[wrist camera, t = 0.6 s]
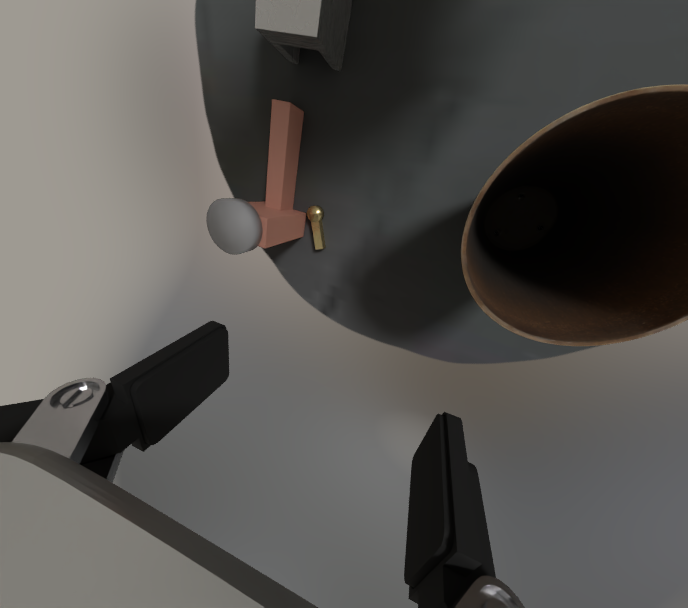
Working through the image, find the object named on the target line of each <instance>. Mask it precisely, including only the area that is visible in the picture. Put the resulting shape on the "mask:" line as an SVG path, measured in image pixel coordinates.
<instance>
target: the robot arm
mask: <svg viewBox="0 0 688 608" xmlns="http://www.w3.org/2000/svg"><path fill="white" fill-rule="evenodd" d="M228 350H229V349H228V331H227V330H226V327H225V325H222V324H220V323H217V322H215V321H210V322H208V323H206V324H205V325H203V326H201V327H199V328H198V329H196V330H194V331H192V332H191V333H189V334H187V335H185V336H184V337H182V338H180V339H179V340H177V341H175V342H173V343H171V344H170V345H168V346H166V347H164V348H163V349H161V350H159V351H157V352H156V353H154V354H152V355H151V356H149V357H147V358H145V359H143V360H142V361H140V362H138V363H137V364H135V365H133V366H131V367H129V368H128V369H126V370H124V371H122V372H121V373H119V374H117V375H115V376H114V377H112V378H110V381H111V383H109V384H107V385H106V384H105V382H104V381H102V380H101V379H96V378H84V379H79V380H75V381H72V382H69V383H66V384H64V385H62V386H60V387H58V388H57V389H55V390H53V391H52V392H51V393H49V394H48V395H47V397H45V399H41V400H35V401H29V402H23V403H17V404H11V405H5V406H0V608H318V607H316V606H315V605H313V604H312V603H310V602H308V601H306V600H305V599H303V598H302V597H300V596H298V595H297V594H295V593H294V592H292V591H290V590H289V589H287V588H285V587H284V586H282V585H280V584H279V583H277V582H275V581H274V580H272V579H271V578H269V577H267V576H266V575H264V574H262V573H260V572H259V571H258V570H256V569H254V568H253V567H251V566H249V565H248V564H246V563H244V562H243V561H241V560H240V559H238V558H236V557H234V556H233V555H231V554H230V553H228V552H226V551H225V550H223V549H221V548H220V547H218V546H216V545H215V544H213V543H211V542H210V541H208V540H206V539H205V538H203V537H202V536H200V535H198V534H197V533H195V532H193V531H192V530H190V529H188V528H186V527H185V526H183V525H182V524H180V523H178V522H176V521H175V520H173V519H172V518H170V517H168V516H167V515H165V514H163V513H162V512H160V511H158V510H157V509H155V508H153V507H152V506H150V505H148V504H147V503H145V502H143V501H142V500H140V499H138V498H137V497H135V496H133V495H132V494H130V493H128V492H127V491H125V490H123V489H122V488H120V487H118V486H116V485H115V484H113V480H114V478H115V475H116V472H117V469H118V466H119V464H120V461H121V458H122V455H123V452H124V450H125V448H127V447H128V446H129V445H130V444H132V446H134V447H136V448H137V449H139V450H141V451H145V450H146V449H147V448H148V447H149V446H150V445H154V444H156V443H158V442H159V441H160V440H161V439H162V438H163V437H164V436H166V434H168V433H169V432H170V431H171V430H172V429H173V428H174V427H175V426H177V425H178V424H179V423H180V422H181V421H182V420H183V419H184V418H185V417H186V416H188V415H189V414H190V413H191V412H192V411H193V410H194V409H195V408H196V407H197V406H199V405H200V404H201V403H202V402H203V401H204V400H205V399H206V398H207V397H208V396H210V395H211V394H212V393H213V392H214V391H215V390H216V389H217V388H218V387H220V386H221V384H223V383H224V382H225V381H226V380H227V378H228V376H229V351H228ZM410 483H411V484H410V497H409V513H408V526H407V542H406V556H405V571H404V579H405V583H406V584H408V585H409V599H410V600H412V601H414V602H415V603H417V604H418V608H525V607H524V606H523V604H522V603H521V601H520V600H519V598H518V597H517V596H516V595H515V594H514V592H513V591H512V590H511V589H510V588H509V587H508V586H507V585H505V584H504V583H503V582H502V581H500V580H499V579H497V578H496V576H495V570H494V564H493V558H492V552H491V547H490V541H489V535H488V529H487V523H486V518H485V512H484V506H483V501H482V494H481V489H480V483H479V477H478V473H477V469H476V467H475V466H474V465H473V464H471V463H469V462H468V461H467V454H466V448H465V440H464V433H463V425H462V420H461V418H459V417H456V416H454V415H451V414H448V413H446V412H444V413H443V414H442V415H440V414H437V415H436V417H435V419H434V421H433V422H432V424H431V426H430V428H429V430H428V431H427V433H426V435H425V437H424V438H423V440H422V442H421V444H420V445H419V447H418V449H417V451H416V452H415V454H414V457H413V460H412V468H411V482H410Z"/></svg>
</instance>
